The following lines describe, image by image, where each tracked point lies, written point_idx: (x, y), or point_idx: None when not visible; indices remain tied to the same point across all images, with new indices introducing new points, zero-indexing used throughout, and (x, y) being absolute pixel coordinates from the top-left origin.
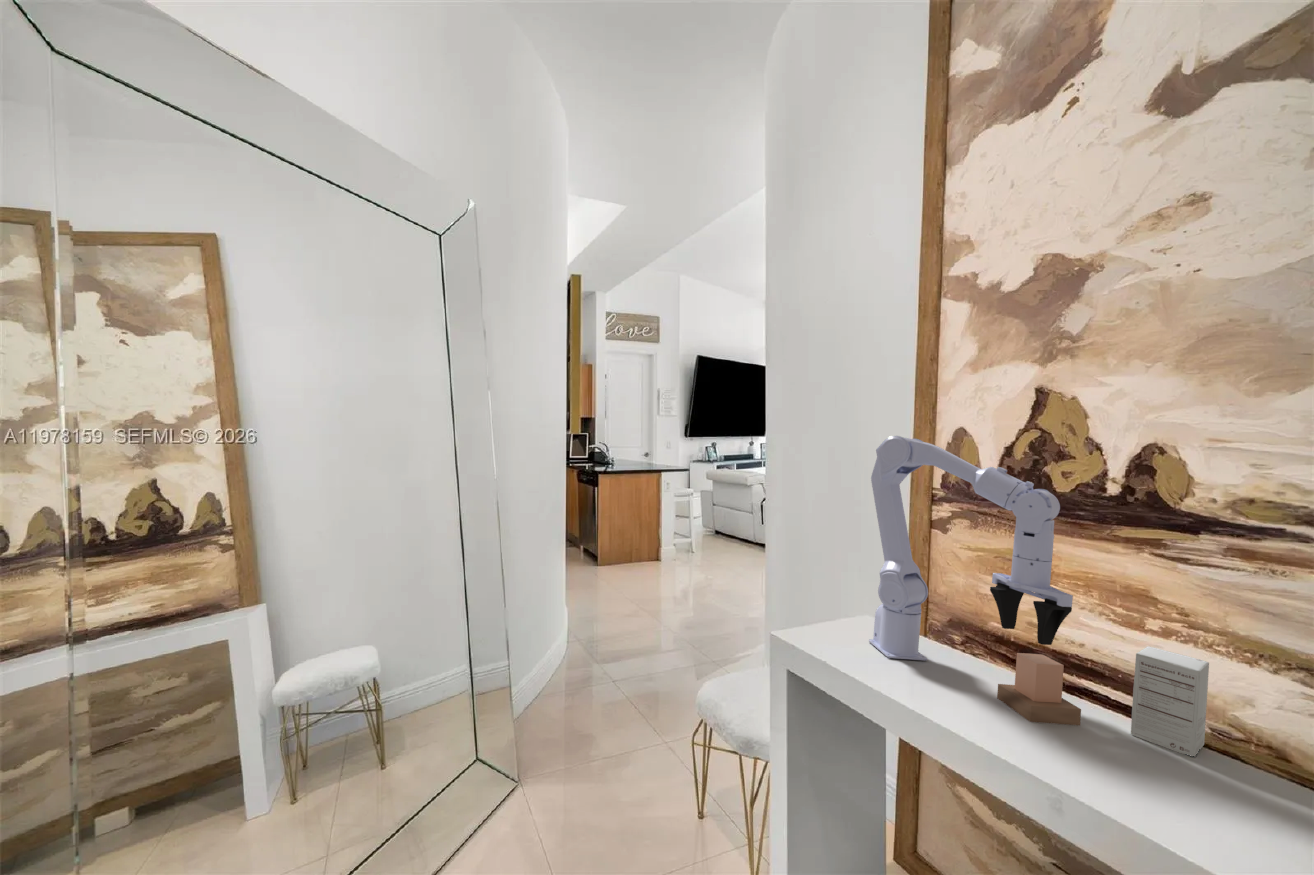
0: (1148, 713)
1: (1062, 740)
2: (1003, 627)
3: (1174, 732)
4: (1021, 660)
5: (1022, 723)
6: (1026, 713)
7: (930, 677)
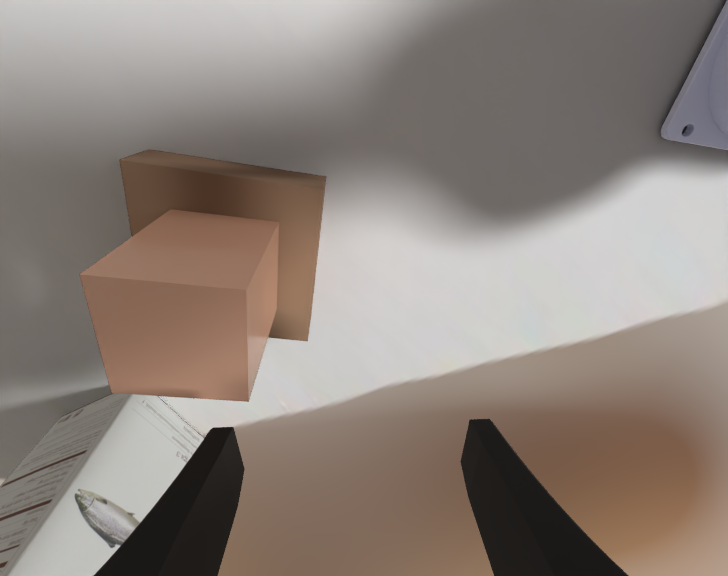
0: (77, 444)
1: (26, 154)
2: (480, 423)
3: (55, 439)
4: (213, 273)
5: (125, 103)
6: (162, 156)
7: (526, 6)
